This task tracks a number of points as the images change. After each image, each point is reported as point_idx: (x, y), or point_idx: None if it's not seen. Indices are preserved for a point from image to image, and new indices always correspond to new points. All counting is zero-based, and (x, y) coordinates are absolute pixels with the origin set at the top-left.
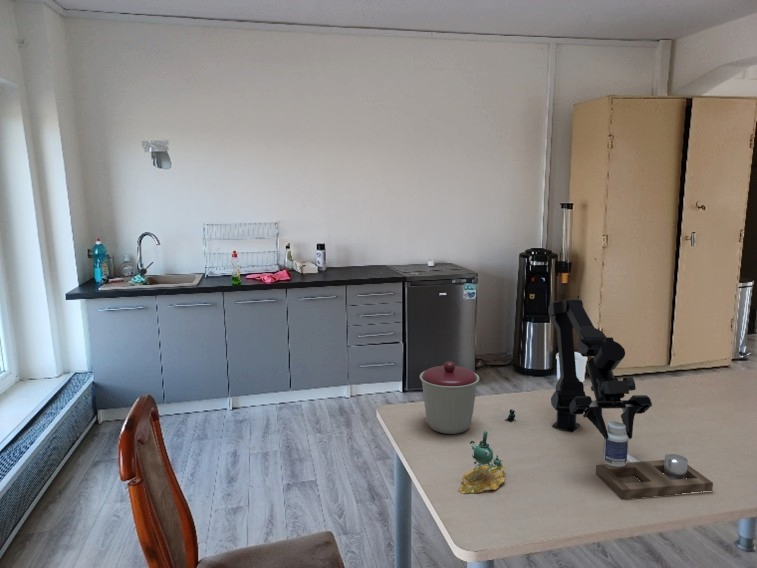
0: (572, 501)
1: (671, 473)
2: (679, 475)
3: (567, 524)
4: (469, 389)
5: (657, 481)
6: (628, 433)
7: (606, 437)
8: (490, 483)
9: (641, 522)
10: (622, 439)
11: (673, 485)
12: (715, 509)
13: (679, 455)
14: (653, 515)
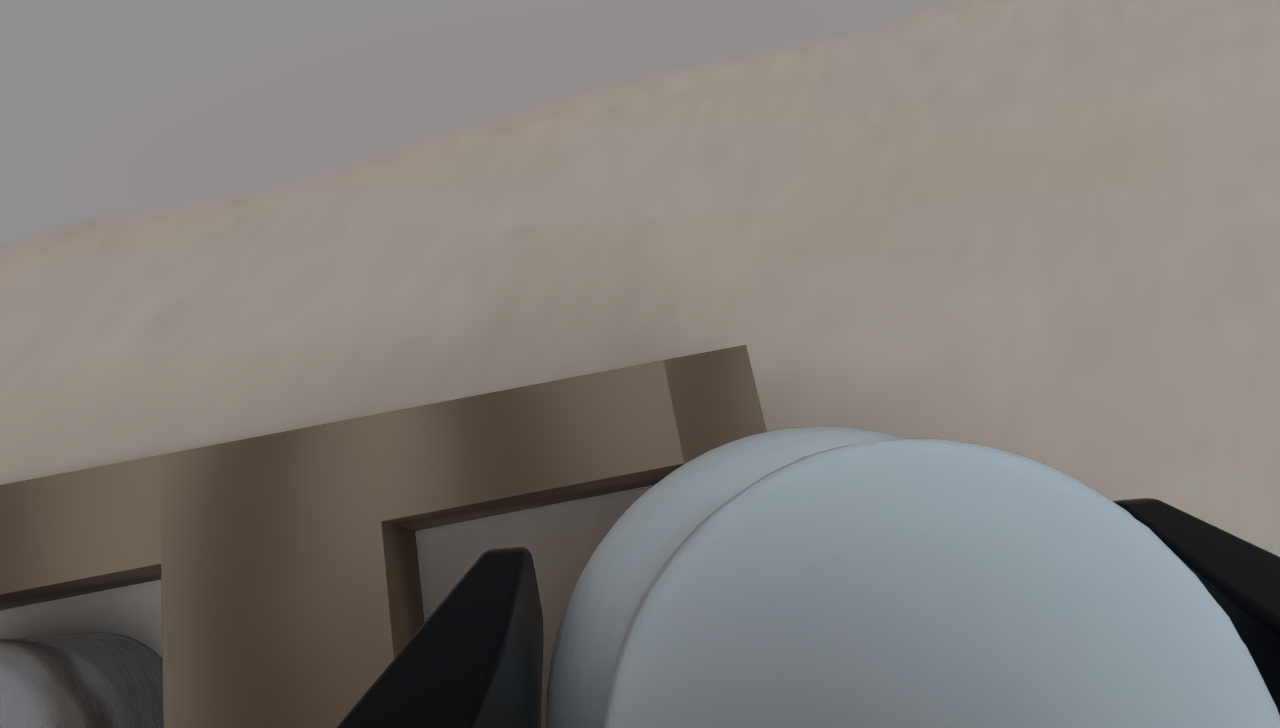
0: (1171, 326)
1: (78, 676)
2: (17, 639)
3: (1238, 36)
4: None
5: (321, 525)
6: (523, 683)
7: (1157, 505)
8: None
9: (694, 91)
10: (767, 436)
11: (205, 451)
12: (46, 279)
13: None
14: (568, 176)
